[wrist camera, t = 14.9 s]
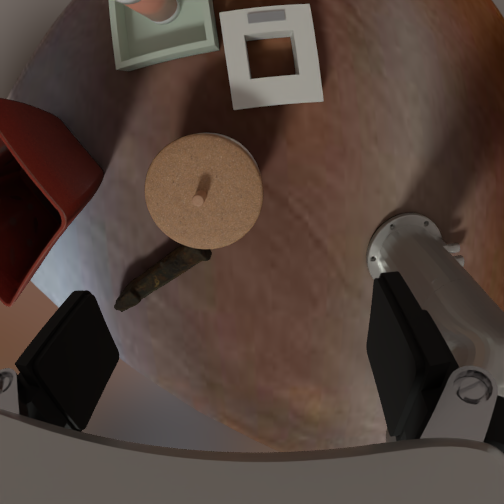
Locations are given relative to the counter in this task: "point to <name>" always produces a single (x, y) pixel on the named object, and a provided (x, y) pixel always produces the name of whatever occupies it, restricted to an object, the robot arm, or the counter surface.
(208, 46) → the parts tray
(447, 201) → the counter surface
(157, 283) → the hand tool
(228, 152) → the lidded bowl
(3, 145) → the plant pot
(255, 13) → the block
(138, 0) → the cylinder
